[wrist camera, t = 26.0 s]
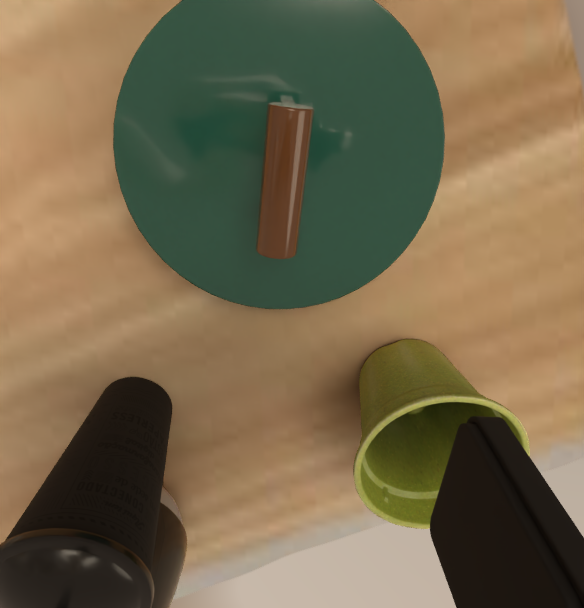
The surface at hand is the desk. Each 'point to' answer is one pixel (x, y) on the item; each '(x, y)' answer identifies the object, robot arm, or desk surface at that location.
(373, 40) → the lid
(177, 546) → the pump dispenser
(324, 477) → the desk surface
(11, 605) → the drinking cup
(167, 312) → the desk surface
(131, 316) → the desk surface
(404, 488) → the plant pot
